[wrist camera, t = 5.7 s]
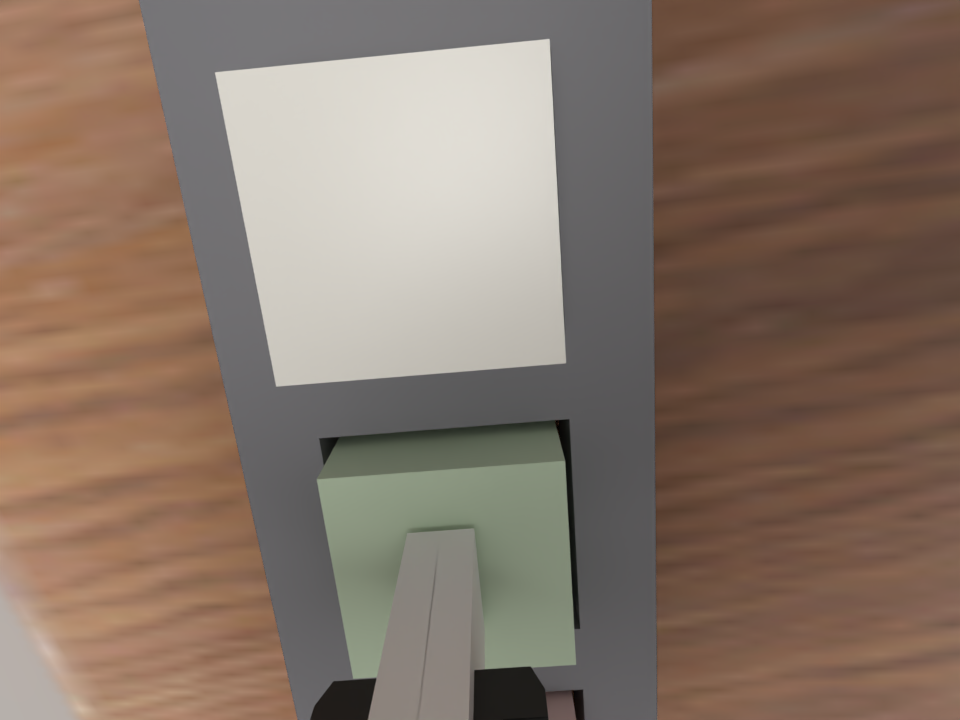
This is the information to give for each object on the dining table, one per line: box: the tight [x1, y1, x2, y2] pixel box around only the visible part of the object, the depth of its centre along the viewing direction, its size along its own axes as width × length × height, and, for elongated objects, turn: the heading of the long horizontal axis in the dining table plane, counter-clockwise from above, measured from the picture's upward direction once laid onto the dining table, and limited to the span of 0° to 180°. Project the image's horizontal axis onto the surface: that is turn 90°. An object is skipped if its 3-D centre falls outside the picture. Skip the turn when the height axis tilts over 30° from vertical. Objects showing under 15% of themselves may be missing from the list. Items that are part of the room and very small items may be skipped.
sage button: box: [317, 420, 576, 679], centre depth 16 cm, size 5×5×4 cm
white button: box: [215, 39, 566, 387], centre depth 13 cm, size 5×5×4 cm
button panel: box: [139, 0, 657, 720], centre depth 17 cm, size 27×10×3 cm, turn 5°
